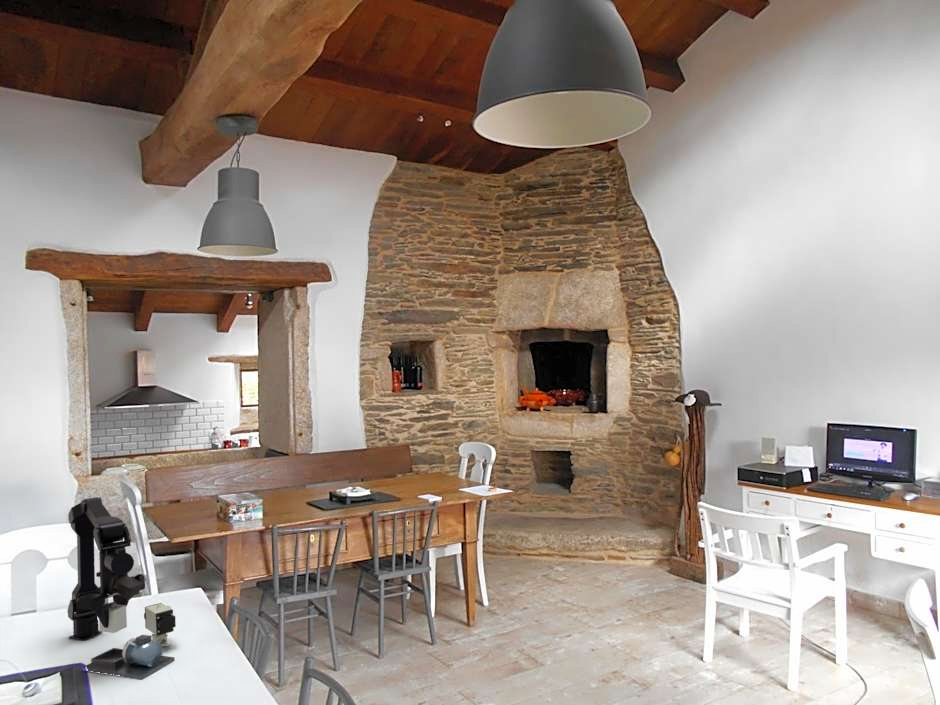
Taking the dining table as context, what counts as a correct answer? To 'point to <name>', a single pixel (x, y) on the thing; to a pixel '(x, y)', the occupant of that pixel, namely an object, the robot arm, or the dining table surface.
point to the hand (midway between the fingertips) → (113, 624)
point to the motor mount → (132, 659)
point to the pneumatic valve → (159, 622)
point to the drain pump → (115, 619)
